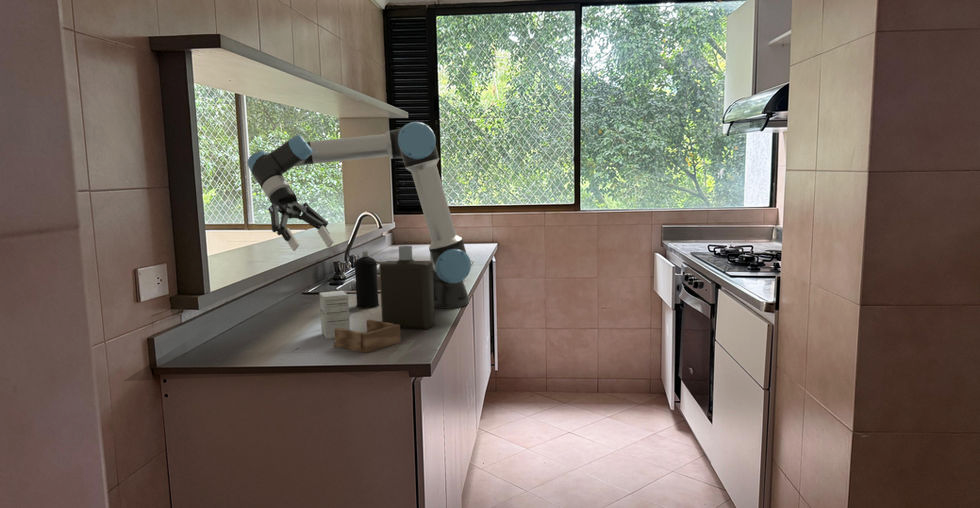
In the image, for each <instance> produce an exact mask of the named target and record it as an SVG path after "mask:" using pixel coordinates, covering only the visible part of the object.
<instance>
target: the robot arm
mask: <svg viewBox="0 0 980 508" xmlns="http://www.w3.org/2000/svg"><path fill="white" fill-rule="evenodd" d="M436 142H437V138H436V135H435V132H434V130H433V129H432V128H431V127H430V125H428V124H425V123H424V122H421V121H411V122H409V123H406V124H404V125H403V126H402V127H401V128H398V129H392V130H387V131H386V132H385V133H382V134H374V135H373V134H371V135H362V136H352V137H342V138H341V137H340V138H334V139H333V138H332V139H323V140H312V141H306V140H305V138H304V137H303V136H302V135H301V134H297V135H295V136H293V137H292V138H289V139H288V140H287V141H286V142H284V143H283V144H280V146H278V147H277V148H275V149H274V150H273V151H271V152H267V151H265V150H259V151H258V152H254V153H252V154H251V155H250V156H249V157H248V158H247V162H246V163H247V167H248V168H249V170H250V172H251V175H252V176H253V177H254V179H255V180H256V182H257V183H258V185H259V187H260V188H261V189H262V191H263V192H264V194H265V196H266V197H267V198H268V200H269V202H270V203H271V205H269V208H268V212H269V214H270V223H271V232H273V233H276V234H277V235H278V236H281V237H282V238H283V239H284V240H285V241H286V242H287V244H288V245H289V247H290V249H291V251H293V252H295V251H296V250H297V249H298V247H299V246H300V243H299V242H298V239H296V237H295V236H294V234H293V233H292V230H291V228H289V227H287V224H288V220H291V219H298V220H300V221H304V222H306V223H307V224H308V225H310V226H312V227H313V228H315V229H316V230H317V233H318V235H319V236H320V238H321V239H322V241H323V242H324V244H325V246H326V247H327V248H331V246H332V245H333V244H334V242H335V241H334V239H333V238H332V236H331V234H330V232H329V230H328V229H327V226H328V225H329V222H328V220H326V219H325V218H324V217H323V216H321V215H320V214H319V213H318V212H317V211H315V210H314V209H313V208H311V206H310V205H309V204H308V203H307V202H303V204H300V203H299V201H298V200H297V198H298V197H297V195H296V193H295V192H294V190H293V189H292V188H291V185H290V184H289V182H288V181H287V179H286V178H285V177H284V175H283V174H285V173H287V172H288V171H290V170H291V169H292V168H294V167H301V166H306V165H315V164H316V165H317V164H323V163H324V164H325V163H333V162H334V163H335V162H343V161H344V162H345V161H353V160H364V159H372V158H373V159H374V158H383V157H388V158H390V159H392V160H393V159H402V161H403V164H404V169H406V170H407V171H408V172H410V174H411V176H412V179H413V182H414V183H413V184H414V185H415V189H416V193H417V197H418V198H419V204H420V206H421V209H422V212H423V213H422V214H423V217H424V219H425V222H426V223H425V224H426V227H427V231H428V233H429V237H430V239H431V240H430V241H431V242H430V244H429V246H428V249H429V250H428V251H429V255H430V256H429V257H430V261H431V262H432V265H433V288H434V307H435V308H434V309H455V308H461V307H466V306H468V305H470V298H469V293H468V291H467V289H466V286H465V281H464V280H465V279H466V278H468V276H469V274H470V272H471V269H472V263H471V262H472V261H471V258H470V257H469V255H468V253H467V251H466V247H465V244H464V240H463V237H461V236H460V235H458V234H457V232H456V228H455V225H454V222H453V218H452V215H451V211H450V207H449V203H448V201H447V198H446V194H445V189H444V186H443V183H442V179H441V176H440V174H439V172H440V171H439V169H438V166H437V165H438V162H439V160H440V155H439V152H438V150H437V148H438V147H437V145H436V144H437V143H436ZM279 214H281V217H280V215H279ZM286 227H287V228H286Z"/></svg>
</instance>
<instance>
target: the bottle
mask: <svg viewBox="0 0 980 508" xmlns="http://www.w3.org/2000/svg"><path fill="white" fill-rule="evenodd" d="M398 258H399V259H398V260H386V261H384V262H381V263H379V282H380V283H379V285H380V288H379V289H380V306H381V308H380V309H381V322H387V323H392V324H395V325H396V324H398V325H400V329H413V330H414V329H415V330H428V329H429V328H431V327H433V326H434V325H435V322H436V321H435V320H436V319H435V317H436V315H435V308H434V288H433V265H432V262H431V261H426V260H424V261H421V260H419V261H418V260H417V261H416V260H414V259H413V246H412V245H399V246H398Z"/></svg>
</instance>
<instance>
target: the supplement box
mask: <svg viewBox="0 0 980 508" xmlns="http://www.w3.org/2000/svg"><path fill="white" fill-rule="evenodd" d="M319 306H320V307H319V308H320V309H319V310H320V326H321V334H322V335H323V336H324V337H325V339H327V340H328V339H335V329H336V328H341V329H346V330H351V328H350V327H351V326H350V325H351V324H350V308H349V294H348V293H346V292H345V291H344V290H335V291H326V292H323V291H322V292H319Z"/></svg>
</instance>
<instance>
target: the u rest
mask: <svg viewBox="0 0 980 508" xmlns="http://www.w3.org/2000/svg"><path fill="white" fill-rule="evenodd" d="M401 339H402V338H401V328H400V325H398V324H396V325H395V324H392V323H387V322H382V320H381V321H379V320H374V319H366V332H365V333H364V332H363V331H357V330H356V331H355V330H351V329H350V330H346V329H341V328H336V329H335V338H334V341H335V342H333V347H337V348H342V349H346V350H351V351H355V352H359V353H365V354H369V353H371V352H374V351H377V350H380V349H383V348H386V347H390V346H393V345H396V344H398V343H399V344H400V343H401Z"/></svg>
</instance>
